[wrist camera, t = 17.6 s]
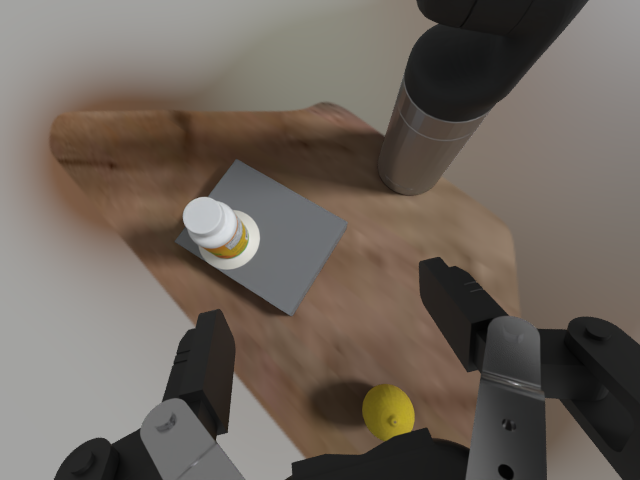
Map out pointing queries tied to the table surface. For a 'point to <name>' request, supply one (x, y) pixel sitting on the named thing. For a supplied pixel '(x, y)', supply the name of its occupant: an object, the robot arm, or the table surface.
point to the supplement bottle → (216, 228)
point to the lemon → (387, 412)
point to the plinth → (273, 237)
